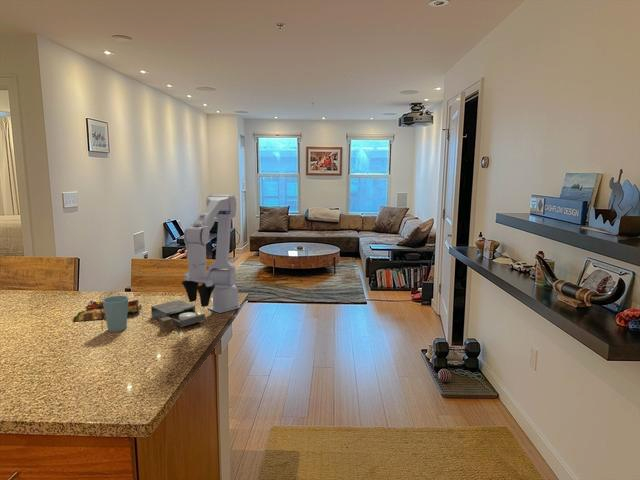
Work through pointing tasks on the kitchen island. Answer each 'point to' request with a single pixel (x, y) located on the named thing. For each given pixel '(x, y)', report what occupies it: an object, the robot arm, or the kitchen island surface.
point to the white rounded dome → (186, 315)
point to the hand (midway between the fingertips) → (198, 303)
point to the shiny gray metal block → (170, 309)
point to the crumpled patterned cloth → (102, 311)
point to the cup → (116, 312)
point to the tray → (187, 319)
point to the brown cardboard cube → (166, 324)
